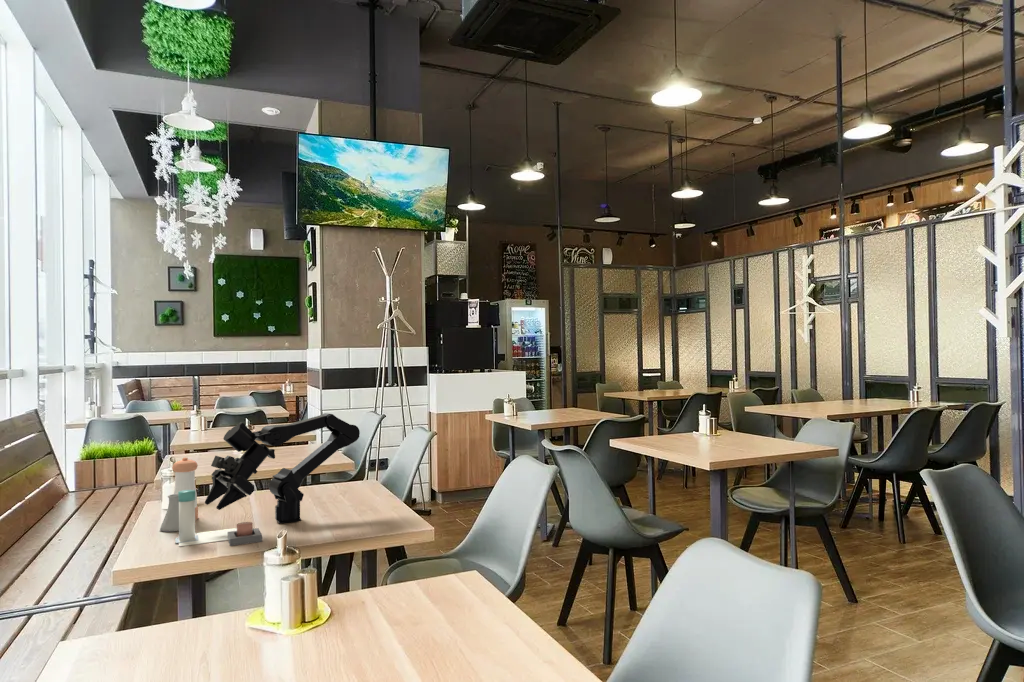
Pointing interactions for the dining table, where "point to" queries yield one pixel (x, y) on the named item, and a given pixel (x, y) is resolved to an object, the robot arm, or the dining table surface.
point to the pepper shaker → (185, 478)
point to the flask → (171, 515)
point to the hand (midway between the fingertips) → (211, 506)
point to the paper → (207, 537)
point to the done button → (244, 529)
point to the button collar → (244, 537)
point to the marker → (186, 515)
